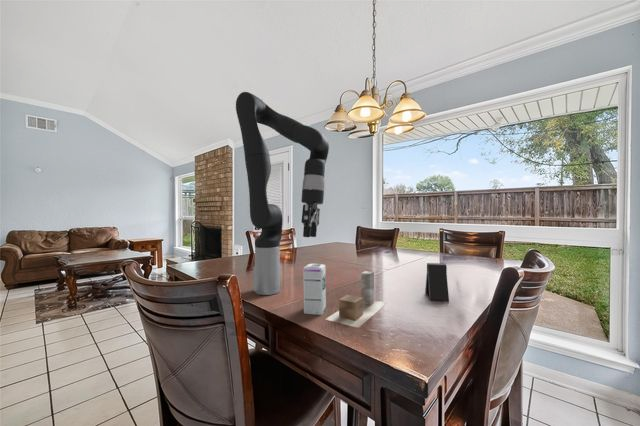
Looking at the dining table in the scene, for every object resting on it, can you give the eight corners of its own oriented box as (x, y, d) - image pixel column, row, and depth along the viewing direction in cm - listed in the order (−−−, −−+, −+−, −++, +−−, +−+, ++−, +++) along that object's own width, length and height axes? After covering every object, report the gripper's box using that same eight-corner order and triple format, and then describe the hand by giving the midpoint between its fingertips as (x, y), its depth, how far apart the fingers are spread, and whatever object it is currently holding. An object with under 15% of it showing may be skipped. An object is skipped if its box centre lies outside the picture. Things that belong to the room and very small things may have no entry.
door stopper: (449, 301, 91) (449, 266, 91) (430, 300, 92) (430, 265, 92) (442, 293, 100) (442, 261, 100) (425, 292, 101) (425, 260, 101)
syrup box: (322, 318, 78) (322, 267, 77) (303, 316, 79) (303, 266, 79) (326, 310, 83) (326, 263, 83) (307, 309, 84) (307, 263, 84)
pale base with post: (325, 322, 74) (325, 283, 74) (358, 299, 93) (358, 268, 93) (358, 331, 69) (358, 288, 69) (386, 305, 87) (386, 272, 87)
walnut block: (339, 317, 76) (339, 299, 76) (347, 311, 80) (347, 294, 80) (355, 320, 73) (355, 302, 73) (362, 314, 77) (362, 297, 77)
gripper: (308, 192, 100) (304, 236, 99) (296, 185, 86) (292, 236, 85) (327, 193, 99) (324, 237, 98) (319, 186, 85) (315, 238, 84)
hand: (309, 237), depth 91 cm, fingers open, 8 cm apart
